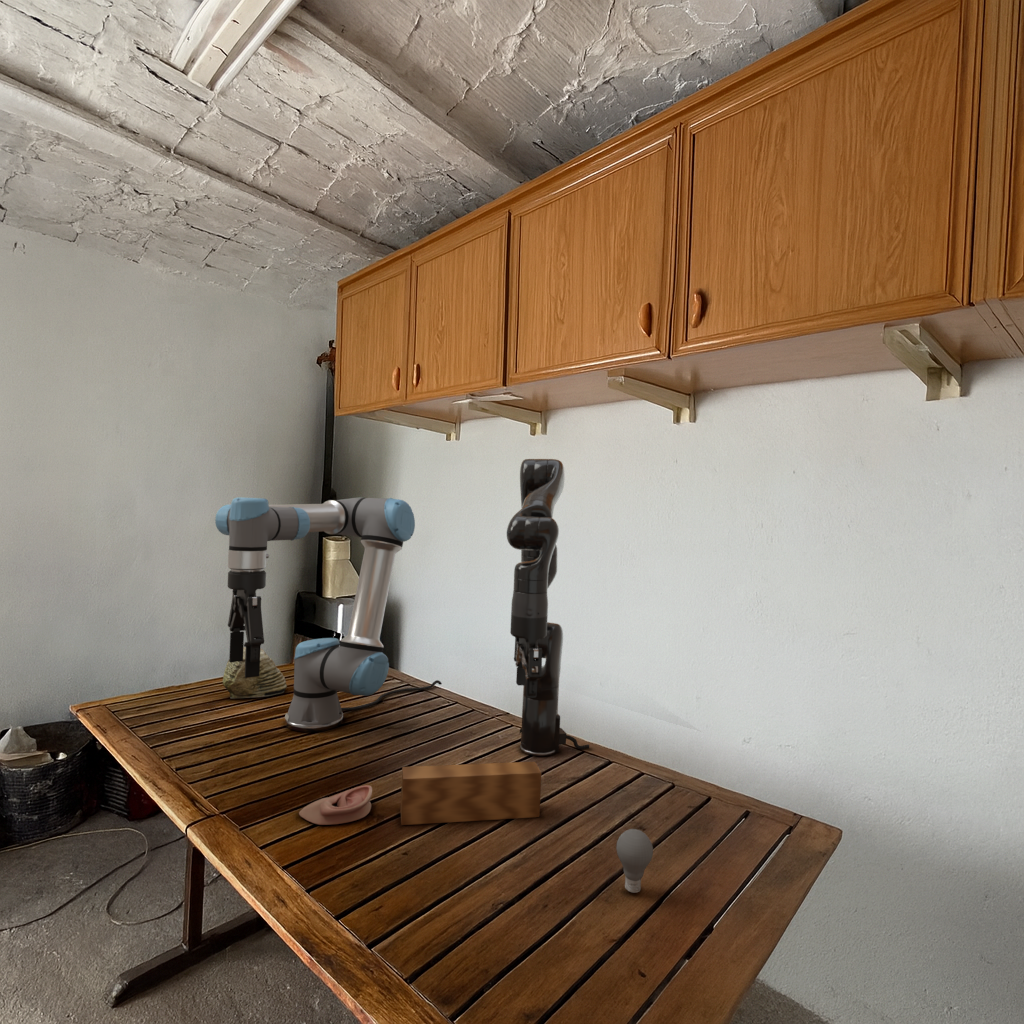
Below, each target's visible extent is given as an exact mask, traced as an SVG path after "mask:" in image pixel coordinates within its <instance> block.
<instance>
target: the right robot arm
mask: <svg viewBox="0 0 1024 1024" xmlns="http://www.w3.org/2000/svg"><path fill="white" fill-rule="evenodd" d="M519 469H520V470H519V488H520V489H519V490H520V505H521V509H519V510H518V511H517V512H516V513H515V514H514V515H513V516H512V517H511V519H510V521H509V522H508V525H507V528H506V539H507V542H508V544H509V546H510V547H512V548H513V549H515V550H518V551H520V562H518V563H516V564H515V565H514V570H513V591H512V597H511V612H510V632H509V633H510V635H511V636H512V637H513V638H514V655H513V656H514V657H513V661H514V662H515V667H516V681H515V684H516V685H517V686H522V708H521V709H522V710H521V728H520V729H519V734H520V746H519V749H520V751H521V752H522V753H524V754H526V755H529V756H534V757H548V756H552V755H554V754H559V752H560V746H561V745H567V740H568V741H570V742H572V743H573V746H574V748H575V749H577V750H580V751H583V750H589V749H590V744H583V745H579V744H578V741H577V739H576V738H575V737H573V736H571V735H568V734H567V732H566V731H565V730H564V729H563V728H562V727H561V715H560V714H559V695H560V693H559V692H560V676H561V669H562V668H561V667H562V656H563V655H562V654H563V645H564V630H563V628H562V625H560V624H559V623H556V622H549V621H548V615H549V614H548V613H549V599H548V589H549V588H550V586H551V585H552V583H553V582H554V580H555V578H556V576H557V572H558V547H557V542H558V539H559V535H560V529H559V525H558V522H557V521H556V520H555V519H554V518H553V516H554V511H555V506H556V505H557V503H558V501H559V499H560V498H561V495H562V493H563V491H564V486H565V480H566V479H565V478H566V477H565V467H564V464H563V462H562V461H561V460H560V459H557V458H525V459H523V460H522V462H521V464H520V468H519ZM543 659H545V661H544V664H543Z"/></svg>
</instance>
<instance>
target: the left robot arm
mask: <svg viewBox="0 0 1024 1024" xmlns="http://www.w3.org/2000/svg"><path fill="white" fill-rule="evenodd" d="M214 521H215V527H216V529H217V530H218V532H219V533H221V534H222V535H225V536H229V538H228V540H229V541H228V551H227V552H228V555H227V557H228V558H227V568H228V569H230V570H229V571H228V572H227V588H228V589H230V590H232V597H231V604H230V610H229V616H228V621H227V627H228V628H229V655H228V656H229V658H228V660H229V662H239V661H243V647H246V654H245V678H249V677H257V676H259V673H260V648H261V646H262V645H264V644H265V637H264V626H263V625H264V623H263V615H262V613H263V612H262V597H261V595H258V596H257V591H258V590H262V589H264V588H265V587H266V586H267V585H266V584H267V583H266V582H267V572H266V571H265V570H264V569H266V568H267V559H269V558H270V555H269V553H267V550H268V542H273V541H291V542H292V541H295V540H300V539H303V538H304V537H306V536H307V535H308V533H316V532H317V533H318V532H319V533H320V532H324V533H325V534H328V535H343V536H351V537H355V538H360V543H361V545H362V546H363V547H364V552H363V556H362V561H361V566H360V572H359V577H358V580H357V587H356V591H355V595H354V601H353V605H352V612H351V615H350V616H351V617H350V621H349V627H348V632H347V634H346V636H344V637H343V638H342V639H340V640H339V638H336V637H322V638H313V639H307V640H304V641H302V642H299V643H298V644H297V645H296V647H295V652H294V653H295V654H294V657H293V662H294V663H293V665H294V666H293V695H292V696H293V697H292V699H291V702H290V704H289V708H288V711H287V712H286V713H285V716H284V719H285V726H286V728H287V729H289V730H291V731H294V732H295V731H296V732H301V733H316V732H325V731H329V730H332V729H335V728H337V727H339V726H340V725H342V723H343V722H344V713H343V712H352V711H357V710H362V709H366V708H369V707H373V706H375V705H377V704H378V703H380V701H381V700H382V699H383V698H385V697H387V696H390V695H394V694H398V693H404V692H417V691H418V692H419V691H426V690H429V689H432V688H433V687H434V686H435V685H437V684H438V685H442V684H443V683H442V681H440V680H438V679H437V680H435V681H433V682H432V683H431V684H430V685H431V686H429V685H427V686H421V687H406V688H405V687H404V688H399V689H395V690H391V691H390V690H389V691H388V692H385V693H382V694H381V695H380V696H378V697H377V698H376V699H375V700H374V701H372V702H368V703H365V704H362V705H357V706H350V707H349V706H348V707H342V706H341V702H340V699H339V695H338V692H342V693H345V694H350V695H353V696H362V697H369V696H372V695H374V694H376V693H377V692H378V691H379V690H380V689H381V688H382V687H383V685H384V684H385V682H386V679H387V677H388V674H389V669H390V662H389V658H388V656H387V655H386V654H385V653H384V648H385V647H384V644H383V643H382V641H381V639H380V638H381V633H382V627H383V622H384V617H385V611H386V606H387V601H388V595H389V592H390V591H389V590H390V585H391V580H392V574H393V570H394V563H395V558H396V555H397V553H398V552H400V551H401V550H402V549H403V545H404V542H408V541H409V540H410V539H411V538H412V537H413V535H414V533H415V528H416V520H415V515H414V512H413V508H412V507H411V506H410V504H409V503H408V502H406V501H405V500H403V499H397V498H393V497H388V498H387V497H381V498H380V497H366V496H365V497H364V496H363V497H351V498H344V499H328V500H326V501H324V502H323V503H294V504H291V503H290V504H285V503H284V504H269V500H268V499H267V498H265V497H264V498H262V497H261V498H260V497H234V498H233V499H232V500H231V503H230V504H225V505H223V506H221V507H220V508H219V509H218V510H217V512H216V513H215V519H214ZM244 631H245V632H244ZM245 637H246V641H245Z"/></svg>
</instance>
